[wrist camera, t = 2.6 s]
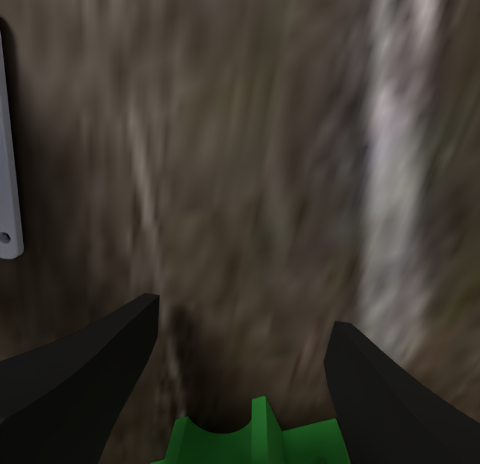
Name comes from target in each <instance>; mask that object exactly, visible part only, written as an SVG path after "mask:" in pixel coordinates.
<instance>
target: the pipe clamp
mask: <svg viewBox="0 0 480 464" xmlns="http://www.w3.org/2000/svg"><path fill="white" fill-rule="evenodd" d="M150 464H351V463H350V460H349V456H348V453H347V450H346V446H345V443H344V440H343V436H342V433H341V431H340V428H339V425H338V423H337V420H336V418H335V419H331V420H327V421H322V422H318V423H314V424H310V425H306V426H302V427H298V428H294V429H289V430H285V431H282V430H281V428H280V426H279V424H278V422H277V420H276V417H275V415H274V413H273V411H272V409H271V407H270V405H269V403H268V400H267V398H266V396H263V397H259V398H255V399H252V419H251V421H250V422H249V424H248V425H246V426H245V427H244V428H242V429H241V430H239V431H236V432H233V433H228V434H216V433H211V432H208V431H205V430H203V429H201V428H199V427H198V426H196V425H195V424H194V423H193V422H192V421H191V420H190V419H189V417H188V416H187V417H184V418H180V419H176V420H175V424H174V427H173V431H172V434H171V438H170V441H169V445H168V448H167V452H166V455H165V459H164V460H162V461H157V462H153V463H150Z"/></svg>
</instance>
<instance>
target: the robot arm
mask: <svg viewBox="0 0 480 464" xmlns="http://www.w3.org/2000/svg"><path fill="white" fill-rule="evenodd" d="M6 233H7V234H8V235H9V236H10V238H11V240H10V239H9V238H8V237H7V235H6ZM23 250H24V245H23V236H22V227H21V217H20V208H19V199H18V189H17V180H16V171H15V161H14V152H13V143H12V134H11V124H10V115H9V106H8V96H7V87H6V78H5V68H4V59H3V50H2V40H1V31H0V258H4V259H13V258H15V257H18V256H20V255H21V254H22V253H23ZM159 297H160V295H154V294H147V293H144V294H142V295H141V296H139V297H137V298H136V299H134V300H132V301H131V302H129V303H128V304H126V305H124V306H123V307H121V308H119V309H118V310H116V311H114V312H113V313H111V314H109V315H107V316H106V317H104V318H102V319H100V320H98V321H96V322H95V323H93V324H91V325H89V326H87V327H85V328H83V329H81V330H79V331H77V332H75V333H73V334H71V335H69V336H67V337H64V338H62V339H60V340H57V341H55V342H53V343H50V344H48V345H45V346H42V347H40V348H37V349H34V350H32V351H29V352H26V353H23V354H21V355H18V356H15V357H12V358H9V359H6V360H3V361H0V464H97V463H98V461H99V458H100V456H101V454H102V451H103V449H104V447H105V444H106V442H107V440H108V437H109V435H110V433H111V430H112V428H113V426H114V424H115V422H116V420H117V418H118V416H119V414H120V412H121V410H122V408H123V406H124V405H125V403H126V401H127V399H128V397H129V395H130V394H131V392H132V390H133V388H134V386H135V384H136V382H137V381H138V379H139V377H140V375H141V373H142V371H143V369H144V368H145V366H146V364H147V362H148V360H149V357H150V355H151V352H152V350H153V347H154V345H155V342H156V339H157V334H158V315H159ZM324 367H325V373H326V378H327V383H328V388H329V391H330V394H331V397H332V401H333V404H334V407H335V410H336V413H337V416H338V419H339V423H340V426H341V429H342V432H343V435H344V438H345V441H346V444H347V447H348V451H349V455H350V458H351V462H352V464H480V423H478V422H477V421H475V420H473V419H472V418H470V417H469V416H467V415H466V414H464V413H462V412H461V411H459V410H458V409H456V408H455V407H453V406H452V405H450V404H449V403H447V402H446V401H445V400H443V399H442V398H440V397H439V396H438V395H436V394H435V393H433V392H432V391H431V390H429V389H428V388H426V387H425V386H424V385H422V384H421V383H420V382H419V381H417V380H416V379H415V378H414V377H412V376H411V375H410V374H409V373H407V372H406V371H405V370H404V369H402V368H401V367H400V366H399V365H398V364H396V363H395V362H394V361H393V360H392V359H391V358H389V357H388V356H387V355H386V354H385V353H384V352H383V351H381V350H380V349H379V348H378V347H377V346H376V345H375V344H374V343H373V342H371V341H370V340H369V339H368V338H367V337H366V336H365V335H364V334H363V333H361V332H360V331H359V330H358V329H357V328H356V327H354V326H353V325H352V324H351V323H346V322H339V321H335V323H334V326H333V330H332V334H331V337H330V341H329V344H328V348H327V352H326V355H325V359H324Z"/></svg>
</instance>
